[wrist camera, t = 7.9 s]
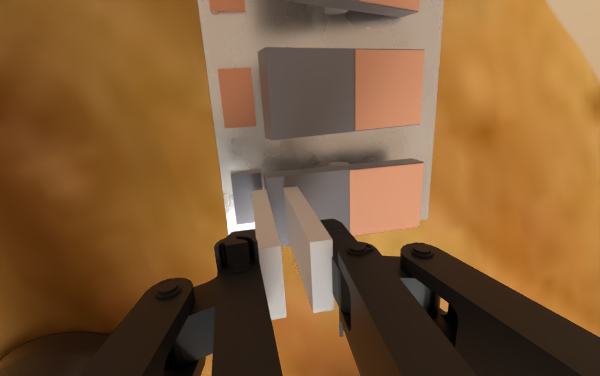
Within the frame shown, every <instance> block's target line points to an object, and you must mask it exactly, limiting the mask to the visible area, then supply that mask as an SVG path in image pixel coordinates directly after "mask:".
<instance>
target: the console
mask: <svg viewBox="0 0 600 376" xmlns="http://www.w3.org/2000/svg"><path fill="white" fill-rule="evenodd" d="M198 8H199V15H200V23H201V30H202V38H203V45H204V53H205V60H206V68H207V75H208V83H209V90H210V98H211V105H212V113H213V120H214V128H215V135H216V143H217V150H218V158H219V165H220V173H221V180H222V188H223V195H224V203H225V210H226V218H227V225H228V233H229V234H230V233H231V232H232V231H241V230H249V229H255V222H254V212H253V201H252V191H254V190H263V189H265V186H264V175H263V173H266V172H276V171H286V170H296V169H307V168H317V167H327V166H329V163H332V162H348V163H349V164H358V163H368V162H378V161H389V160H399V159H409V158H413V159H416V160H419V161H422V162H424V167H423V182H422V197H421V212H420V220H426V219H428V209H429V195H430V182H431V169H432V155H433V142H434V128H435V115H436V102H437V88H438V75H439V62H440V48H441V35H442V22H443V8H444V0H420V4H419V12H418V13H414V14H411V15H408V16H405V17H401V18H399V17H392V16H385V15H378V14H371V13H364V12H357V11H350V10H348V11H347V12H345V13H342V14H336V15H330V14H326V13H325V7H323V6H316V5H309V4H302V3H295V2H288V1H281V0H198ZM265 47H293V48H361V49H424V50H425V51H424V67H423V84H422V100H421V117H420V125H411V126H402V127H392V128H383V129H374V130H364V131H355V132H346V133H336V134H327V135H318V136H308V137H299V138H290V139H280V140H270V139H267V138H265V132H264V121H263V109H262V97H261V86H260V74H259V63H258V51H260V50H261V49H263V48H265Z"/></svg>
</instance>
